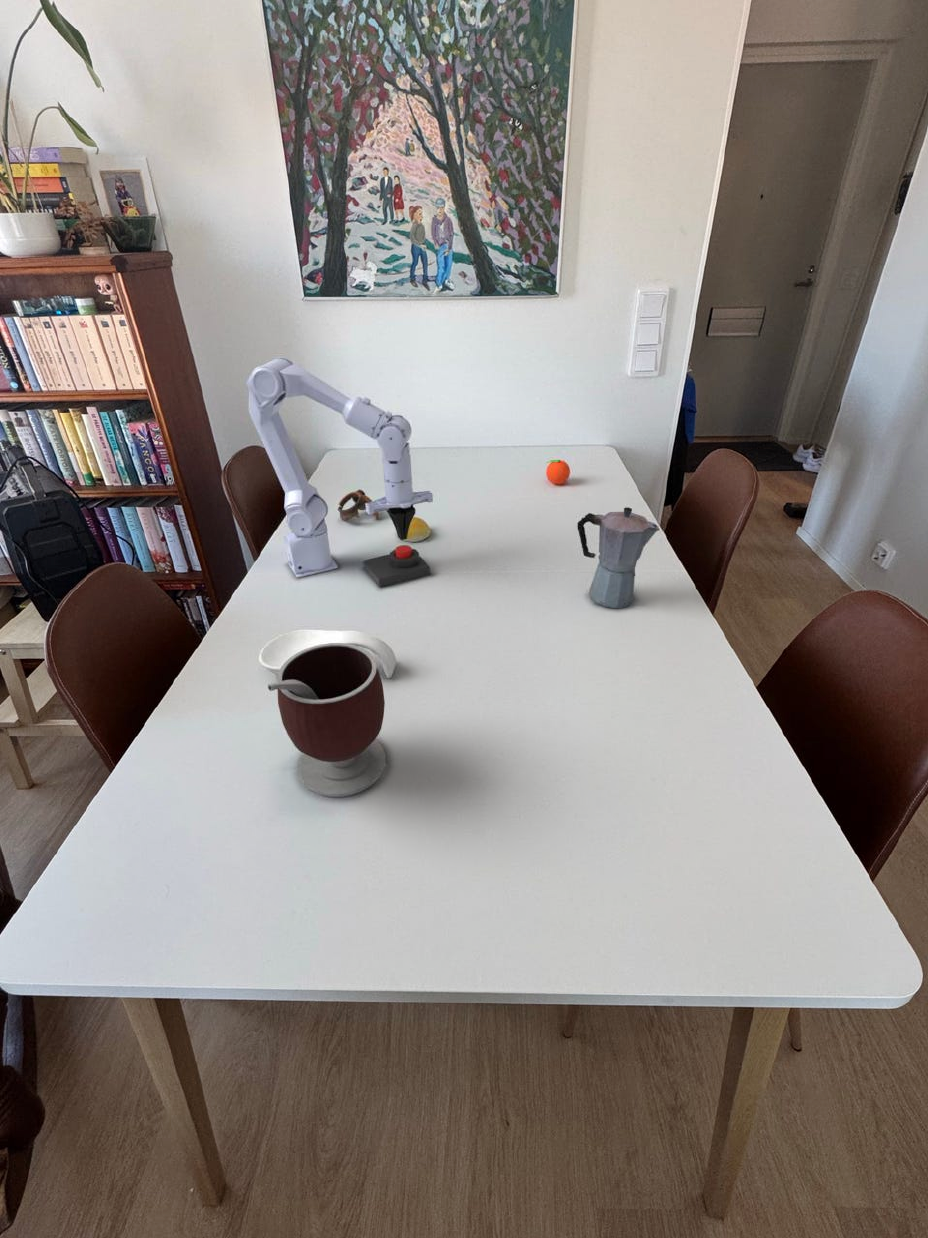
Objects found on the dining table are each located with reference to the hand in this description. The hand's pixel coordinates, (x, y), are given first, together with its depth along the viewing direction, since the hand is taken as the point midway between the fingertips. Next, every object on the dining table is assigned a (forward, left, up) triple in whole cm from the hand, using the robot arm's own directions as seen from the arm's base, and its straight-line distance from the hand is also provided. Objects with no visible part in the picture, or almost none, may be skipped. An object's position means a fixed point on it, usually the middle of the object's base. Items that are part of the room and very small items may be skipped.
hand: (402, 538), depth 137 cm
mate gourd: (-32, -51, -8) cm, 61 cm away
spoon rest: (-26, -27, -8) cm, 38 cm away
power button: (0, 0, -4) cm, 4 cm away
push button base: (-2, 0, -8) cm, 8 cm away
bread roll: (+9, +16, -8) cm, 20 cm away
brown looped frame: (+1, +33, -8) cm, 34 cm away
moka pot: (+32, -32, -8) cm, 46 cm away
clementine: (+60, +28, -8) cm, 67 cm away
